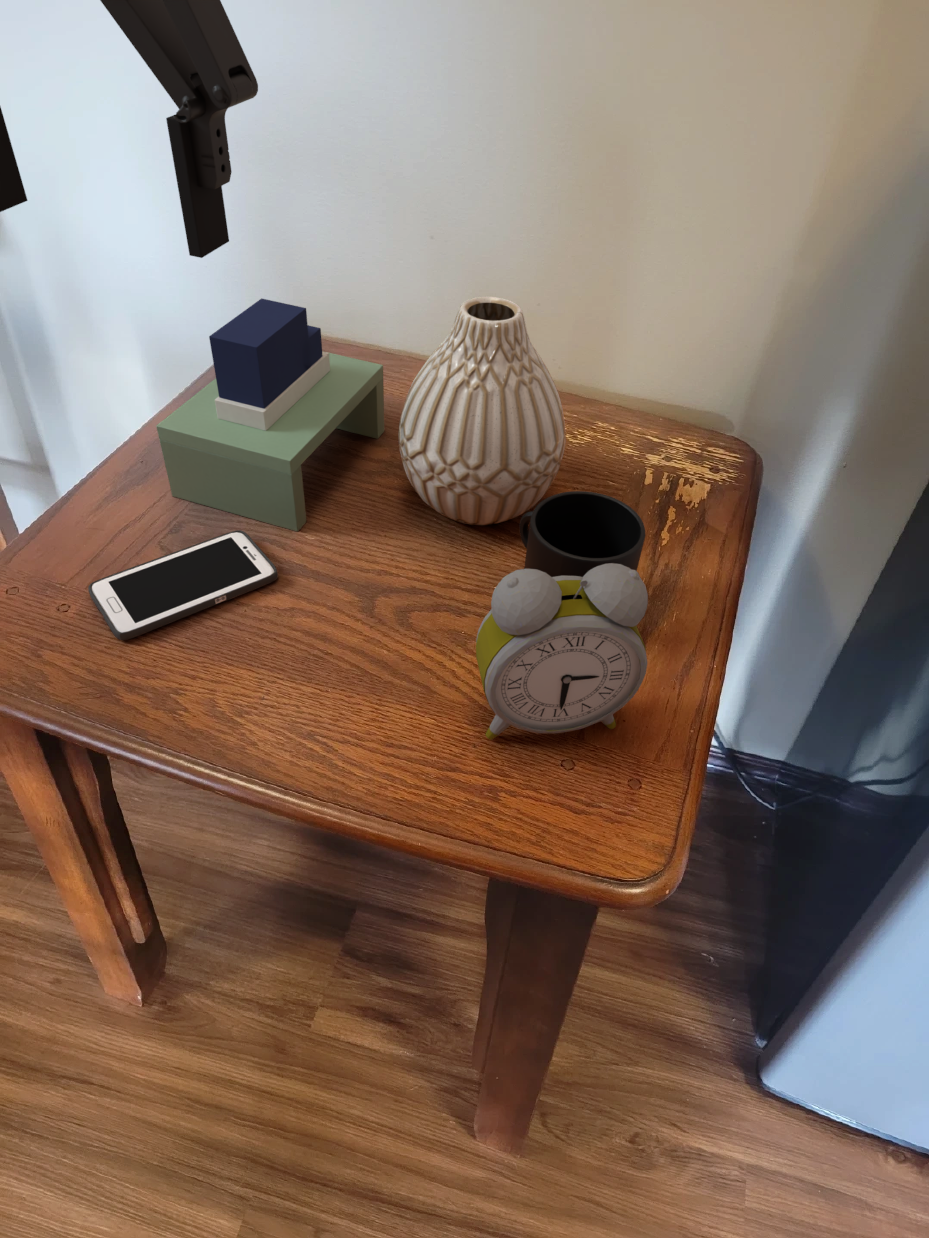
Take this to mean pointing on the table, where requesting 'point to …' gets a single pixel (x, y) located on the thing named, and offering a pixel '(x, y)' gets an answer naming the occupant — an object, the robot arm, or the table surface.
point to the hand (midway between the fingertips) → (104, 227)
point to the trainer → (265, 363)
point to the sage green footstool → (267, 444)
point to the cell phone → (181, 584)
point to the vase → (483, 419)
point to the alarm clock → (562, 648)
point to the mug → (581, 534)
